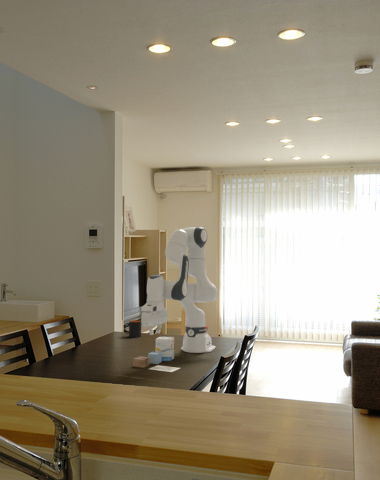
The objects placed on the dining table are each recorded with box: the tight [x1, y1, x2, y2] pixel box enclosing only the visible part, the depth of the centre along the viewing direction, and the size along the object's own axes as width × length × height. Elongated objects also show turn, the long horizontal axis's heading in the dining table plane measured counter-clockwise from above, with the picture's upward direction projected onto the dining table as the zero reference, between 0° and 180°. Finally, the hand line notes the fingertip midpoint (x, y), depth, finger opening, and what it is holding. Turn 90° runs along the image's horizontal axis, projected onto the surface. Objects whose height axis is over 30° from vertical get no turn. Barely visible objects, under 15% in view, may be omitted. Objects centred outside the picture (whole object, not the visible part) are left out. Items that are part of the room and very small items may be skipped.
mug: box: [123, 319, 142, 338], centre depth 330 cm, size 8×12×10 cm
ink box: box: [154, 336, 175, 362], centre depth 255 cm, size 9×8×12 cm
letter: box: [148, 364, 181, 373], centre depth 233 cm, size 9×13×1 cm
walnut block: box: [132, 355, 151, 368], centre depth 239 cm, size 6×6×4 cm
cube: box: [147, 351, 162, 365], centre depth 246 cm, size 5×5×5 cm
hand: (155, 333), depth 247 cm, fingers open, 5 cm apart
